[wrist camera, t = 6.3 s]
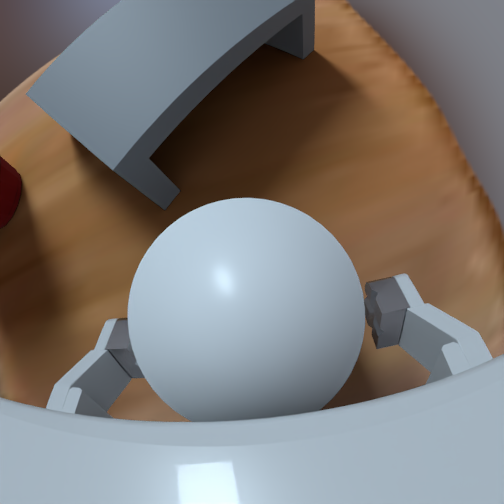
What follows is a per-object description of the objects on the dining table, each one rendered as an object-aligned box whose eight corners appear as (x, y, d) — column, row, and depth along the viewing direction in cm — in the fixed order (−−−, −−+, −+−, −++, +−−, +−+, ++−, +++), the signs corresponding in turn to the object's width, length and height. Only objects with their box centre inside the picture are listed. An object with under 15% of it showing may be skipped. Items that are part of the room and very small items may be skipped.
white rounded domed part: (280, 391, 15) (270, 473, 6) (190, 328, 16) (93, 338, 7) (344, 298, 16) (407, 280, 7) (251, 238, 17) (212, 159, 8)
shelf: (165, 210, 18) (113, 170, 12) (69, 129, 21) (25, 94, 15) (314, 49, 19) (314, -12, 13) (194, 10, 21) (176, -36, 16)
